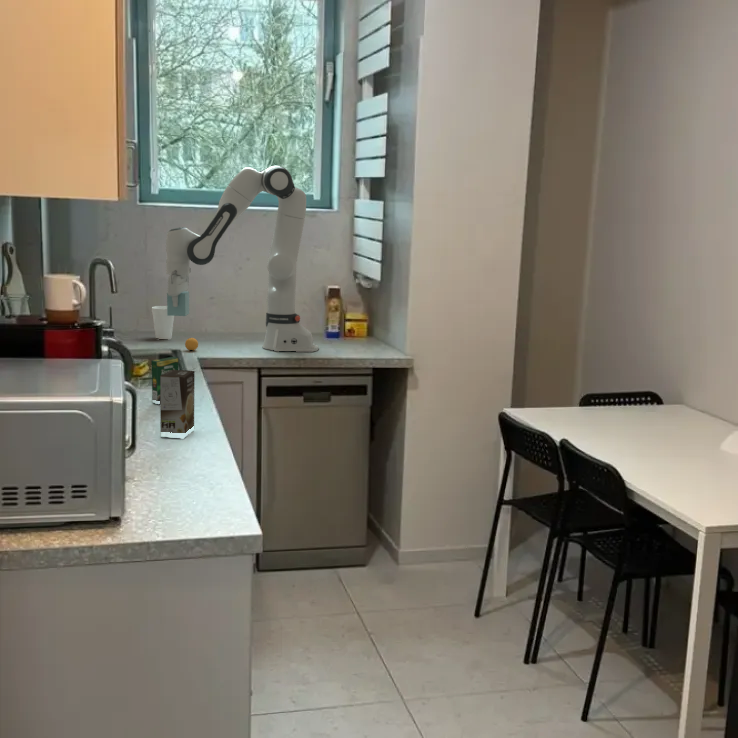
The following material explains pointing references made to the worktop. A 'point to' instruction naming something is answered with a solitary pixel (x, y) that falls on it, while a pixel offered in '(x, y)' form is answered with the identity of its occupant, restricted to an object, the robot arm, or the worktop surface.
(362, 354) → the worktop surface
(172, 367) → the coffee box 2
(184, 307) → the grey-teal block
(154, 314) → the foam cup
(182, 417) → the coffee box
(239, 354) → the worktop surface
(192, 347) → the ball
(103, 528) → the worktop surface
